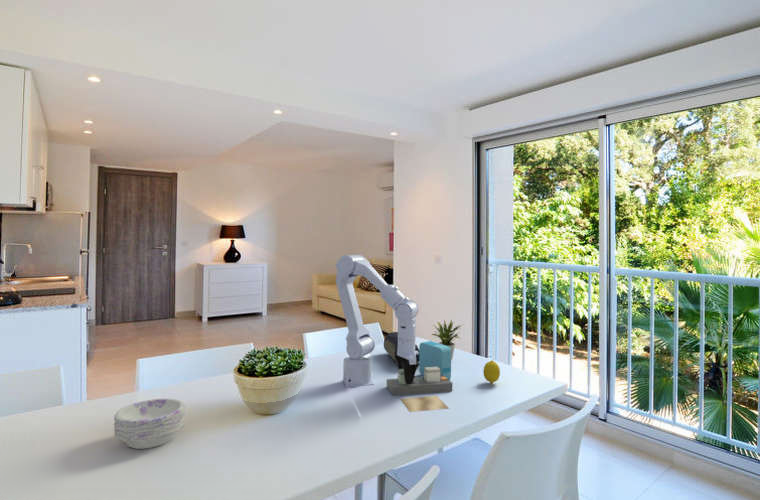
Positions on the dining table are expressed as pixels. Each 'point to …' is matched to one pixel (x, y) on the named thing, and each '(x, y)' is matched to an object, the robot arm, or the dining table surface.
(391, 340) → the portable speaker
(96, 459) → the dining table surface
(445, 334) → the house plant
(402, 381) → the plug
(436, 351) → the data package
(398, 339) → the robot arm
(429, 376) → the twin plug
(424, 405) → the cork mat
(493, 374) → the lemon
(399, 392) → the power strip
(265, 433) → the dining table surface
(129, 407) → the paper bowls
